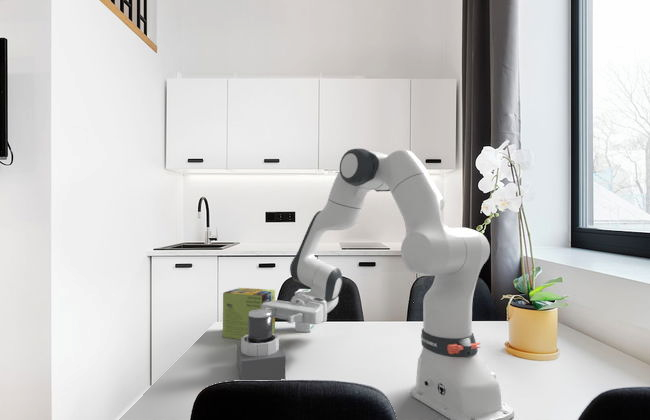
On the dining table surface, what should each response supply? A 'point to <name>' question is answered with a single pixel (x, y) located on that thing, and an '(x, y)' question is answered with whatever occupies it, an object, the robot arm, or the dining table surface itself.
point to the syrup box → (303, 326)
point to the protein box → (243, 309)
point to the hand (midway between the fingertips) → (275, 317)
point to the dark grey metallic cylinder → (260, 326)
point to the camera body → (261, 360)
